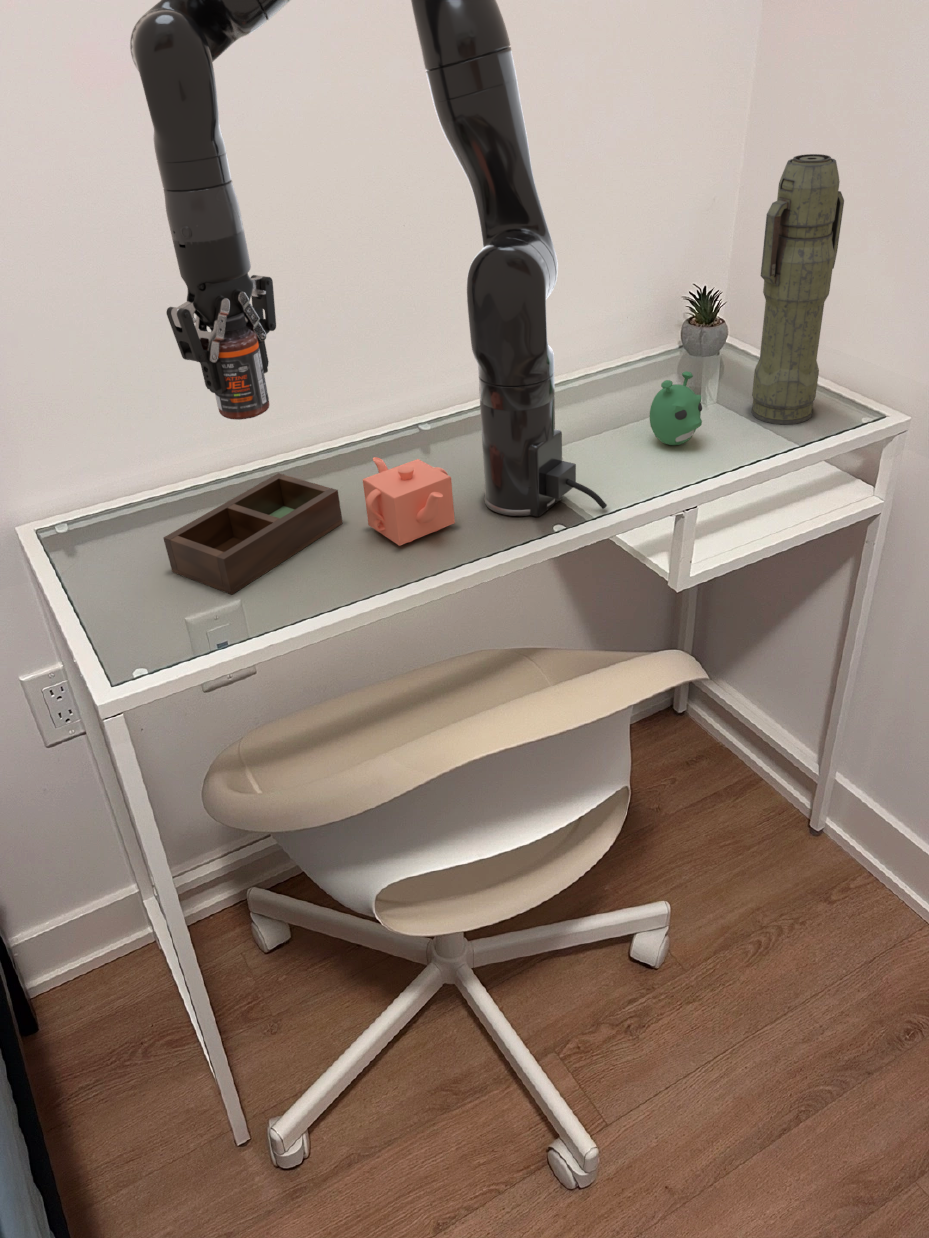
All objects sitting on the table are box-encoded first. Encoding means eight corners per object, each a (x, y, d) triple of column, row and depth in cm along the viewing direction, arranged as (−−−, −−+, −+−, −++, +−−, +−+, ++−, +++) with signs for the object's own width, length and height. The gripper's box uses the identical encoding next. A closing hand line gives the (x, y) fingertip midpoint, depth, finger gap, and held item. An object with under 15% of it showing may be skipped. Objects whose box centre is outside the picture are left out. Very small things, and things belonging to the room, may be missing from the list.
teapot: (405, 567, 119) (398, 505, 114) (341, 523, 129) (332, 463, 125) (485, 534, 125) (481, 472, 120) (417, 494, 135) (411, 436, 130)
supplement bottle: (216, 424, 115) (194, 326, 108) (222, 404, 120) (201, 310, 113) (269, 418, 115) (249, 320, 109) (272, 399, 120) (254, 304, 114)
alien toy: (679, 459, 138) (683, 390, 133) (638, 443, 144) (640, 376, 138) (712, 444, 142) (718, 376, 136) (671, 429, 147) (675, 362, 141)
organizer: (342, 523, 129) (337, 489, 127) (231, 595, 116) (223, 559, 114) (284, 505, 135) (278, 472, 132) (172, 572, 122) (162, 537, 119)
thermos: (730, 414, 150) (753, 161, 130) (786, 394, 155) (815, 147, 135) (776, 432, 144) (807, 169, 124) (832, 411, 149) (870, 154, 129)
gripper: (231, 212, 113) (260, 358, 122) (130, 244, 103) (169, 399, 113) (280, 216, 109) (305, 366, 118) (179, 250, 99) (216, 410, 109)
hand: (239, 382), depth 115 cm, fingers closed on supplement bottle, 6 cm apart
